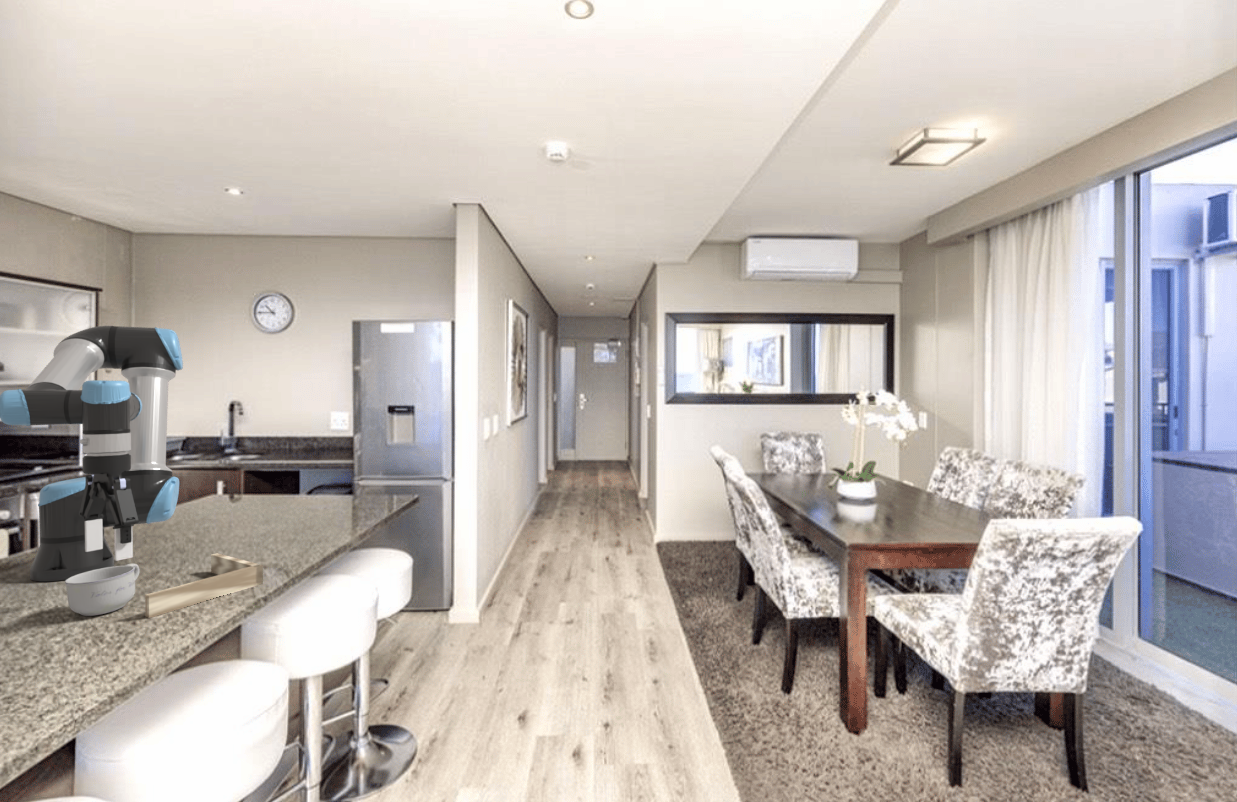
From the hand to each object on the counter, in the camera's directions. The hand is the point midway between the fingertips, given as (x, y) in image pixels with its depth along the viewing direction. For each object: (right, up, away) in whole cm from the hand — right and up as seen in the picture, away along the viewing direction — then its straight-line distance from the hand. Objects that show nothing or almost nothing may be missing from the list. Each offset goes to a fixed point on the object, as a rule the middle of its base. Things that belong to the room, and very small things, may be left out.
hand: (108, 554), depth 119 cm
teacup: (0, -12, +1) cm, 12 cm away
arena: (+9, -11, +9) cm, 17 cm away
